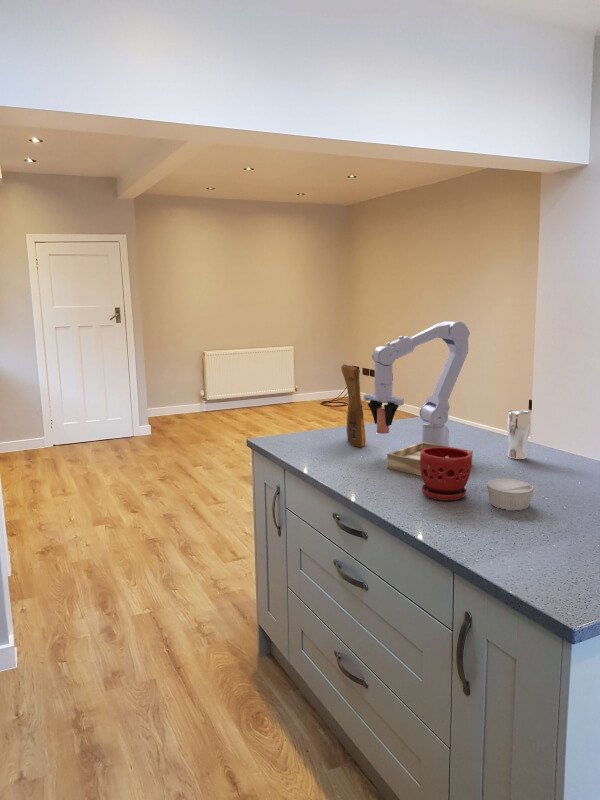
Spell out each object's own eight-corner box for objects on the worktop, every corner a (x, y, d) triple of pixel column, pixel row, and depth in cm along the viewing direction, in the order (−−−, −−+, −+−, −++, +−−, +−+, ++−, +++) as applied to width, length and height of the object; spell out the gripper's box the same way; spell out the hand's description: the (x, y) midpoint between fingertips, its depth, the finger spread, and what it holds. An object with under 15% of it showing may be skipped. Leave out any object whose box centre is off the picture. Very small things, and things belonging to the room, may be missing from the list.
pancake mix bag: (350, 449, 212) (350, 368, 207) (340, 436, 230) (340, 362, 226) (369, 448, 212) (369, 368, 208) (358, 435, 231) (358, 361, 226)
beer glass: (504, 459, 196) (506, 413, 194) (506, 453, 203) (508, 409, 200) (528, 461, 194) (530, 414, 191) (528, 455, 200) (531, 410, 198)
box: (421, 455, 203) (422, 441, 202) (472, 464, 191) (472, 450, 190) (387, 468, 188) (387, 454, 188) (439, 479, 176) (439, 464, 175)
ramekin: (527, 516, 148) (528, 495, 147) (480, 507, 153) (481, 487, 153) (536, 502, 157) (538, 482, 156) (492, 495, 163) (493, 476, 162)
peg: (381, 430, 205) (381, 406, 204) (391, 432, 202) (391, 408, 201) (374, 432, 202) (374, 408, 201) (384, 434, 199) (384, 410, 198)
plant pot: (467, 506, 155) (469, 460, 153) (415, 500, 159) (416, 455, 157) (472, 490, 167) (473, 447, 165) (423, 485, 171) (424, 443, 169)
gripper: (358, 382, 201) (358, 423, 204) (395, 387, 192) (394, 429, 194) (370, 380, 207) (370, 419, 209) (407, 384, 197) (407, 425, 199)
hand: (383, 424), depth 202 cm, fingers closed on peg, 4 cm apart
